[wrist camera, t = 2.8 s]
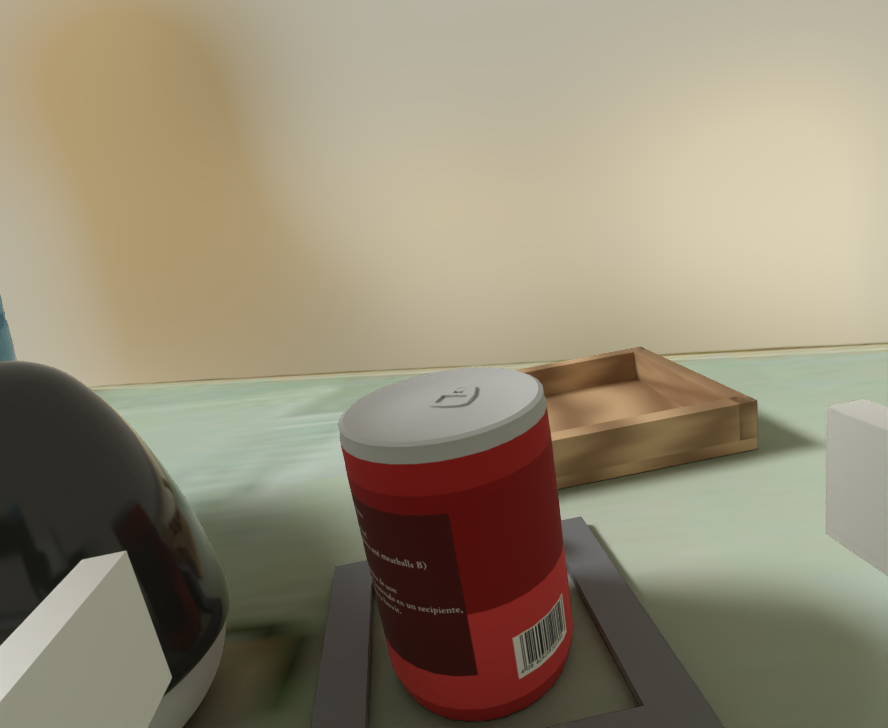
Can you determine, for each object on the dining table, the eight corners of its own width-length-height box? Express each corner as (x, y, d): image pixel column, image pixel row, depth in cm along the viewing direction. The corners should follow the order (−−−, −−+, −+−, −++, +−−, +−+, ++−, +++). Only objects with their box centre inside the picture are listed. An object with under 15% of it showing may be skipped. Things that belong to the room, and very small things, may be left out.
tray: (452, 510, 33) (443, 462, 32) (431, 421, 49) (425, 387, 48) (757, 448, 34) (757, 400, 34) (642, 380, 50) (640, 346, 49)
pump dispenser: (139, 614, 28) (37, 336, 24) (300, 645, 24) (208, 316, 20) (-106, 817, 19) (-330, 426, 15) (86, 919, 15) (-154, 423, 11)
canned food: (567, 576, 26) (541, 357, 23) (587, 731, 18) (551, 431, 15) (413, 583, 27) (370, 377, 24) (371, 730, 19) (301, 455, 17)
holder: (295, 864, 16) (265, 773, 15) (337, 575, 29) (322, 517, 28) (738, 759, 16) (735, 667, 16) (581, 524, 30) (575, 467, 29)
